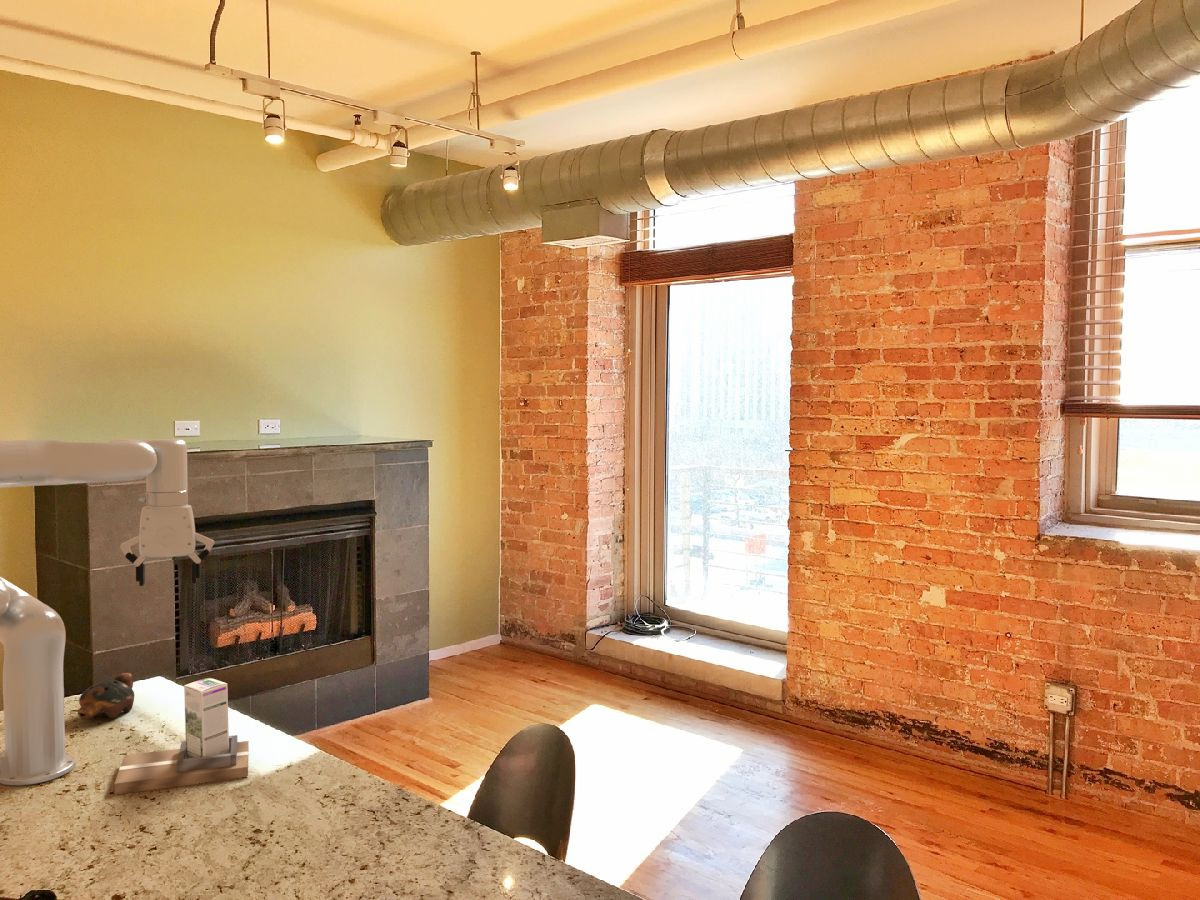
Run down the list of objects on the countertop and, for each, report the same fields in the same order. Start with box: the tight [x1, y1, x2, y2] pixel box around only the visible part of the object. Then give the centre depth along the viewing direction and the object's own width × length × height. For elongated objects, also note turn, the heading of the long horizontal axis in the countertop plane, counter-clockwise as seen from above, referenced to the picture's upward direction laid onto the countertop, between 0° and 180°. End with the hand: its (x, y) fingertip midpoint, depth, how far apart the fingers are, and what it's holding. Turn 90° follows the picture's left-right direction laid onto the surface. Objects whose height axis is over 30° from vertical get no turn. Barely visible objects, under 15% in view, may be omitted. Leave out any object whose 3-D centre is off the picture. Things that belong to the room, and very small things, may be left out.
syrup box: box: [183, 677, 230, 759], centre depth 170 cm, size 6×6×14 cm
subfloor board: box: [113, 735, 249, 795], centre depth 169 cm, size 22×13×4 cm, turn 111°
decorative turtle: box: [77, 672, 135, 721], centre depth 197 cm, size 10×15×8 cm, turn 175°
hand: (168, 583), depth 183 cm, fingers open, 9 cm apart
